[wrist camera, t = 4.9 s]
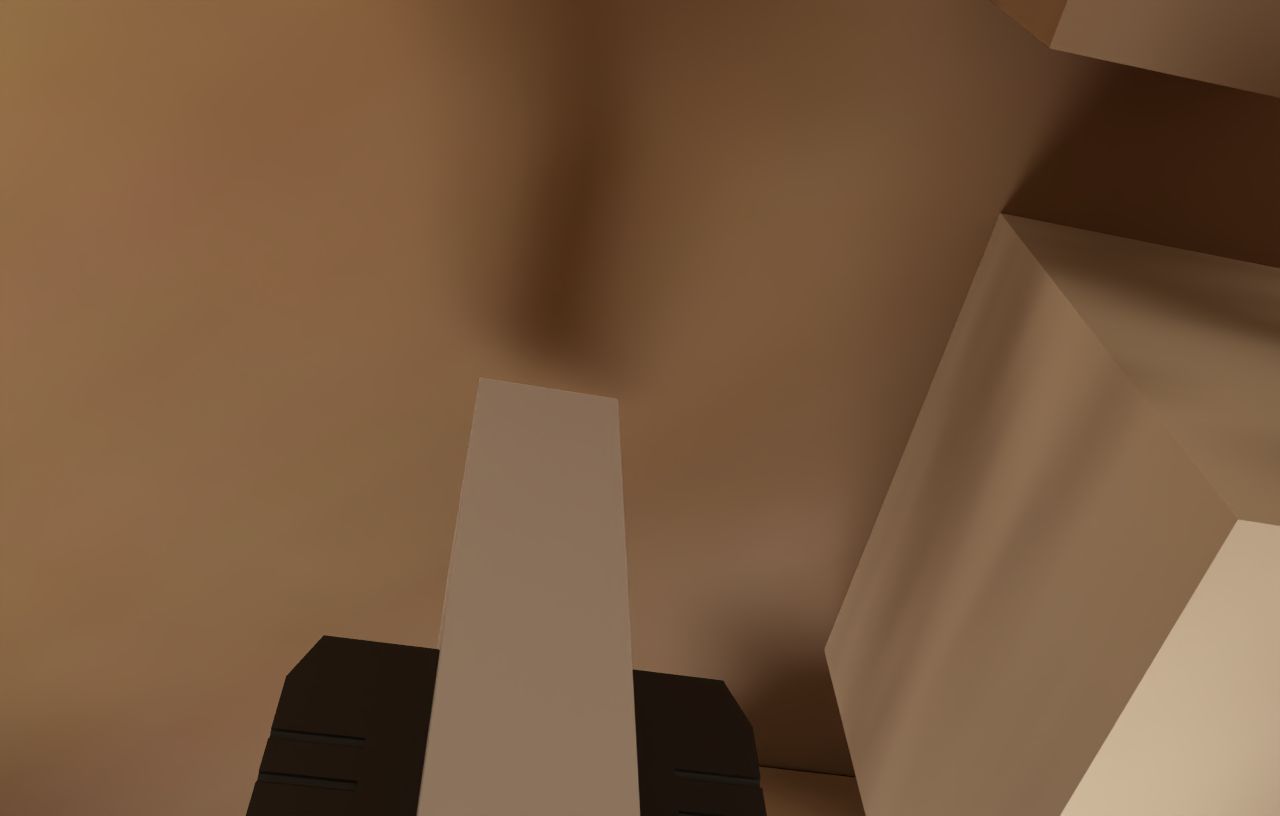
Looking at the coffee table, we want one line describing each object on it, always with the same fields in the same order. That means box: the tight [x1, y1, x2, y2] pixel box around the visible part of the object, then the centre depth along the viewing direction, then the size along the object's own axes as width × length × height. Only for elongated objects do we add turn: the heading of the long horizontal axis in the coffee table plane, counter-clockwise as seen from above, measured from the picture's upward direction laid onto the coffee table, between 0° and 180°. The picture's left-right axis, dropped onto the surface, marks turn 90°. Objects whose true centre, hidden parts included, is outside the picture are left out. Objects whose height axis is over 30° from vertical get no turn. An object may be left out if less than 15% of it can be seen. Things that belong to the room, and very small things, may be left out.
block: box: [824, 213, 1280, 816], centre depth 14 cm, size 7×7×6 cm
